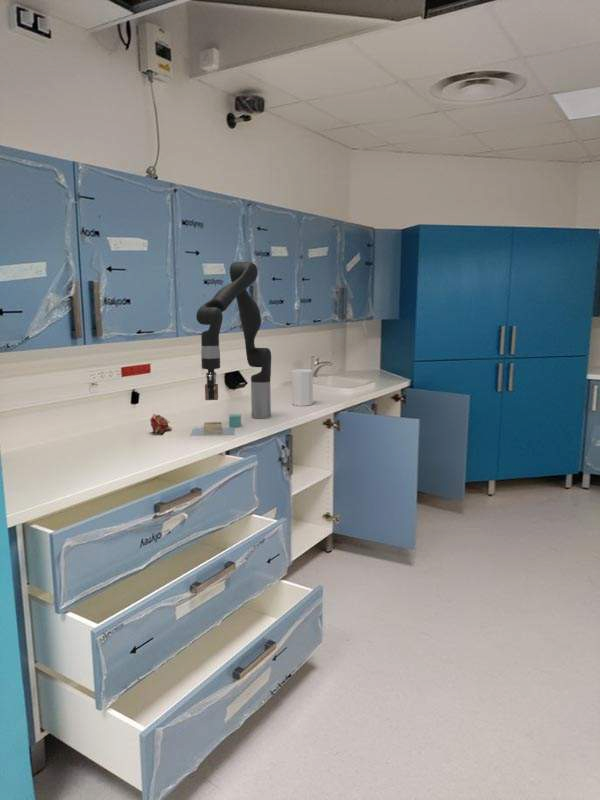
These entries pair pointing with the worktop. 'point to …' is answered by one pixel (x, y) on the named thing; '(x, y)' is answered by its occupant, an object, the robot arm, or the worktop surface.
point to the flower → (159, 424)
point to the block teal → (234, 420)
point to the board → (201, 433)
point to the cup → (302, 387)
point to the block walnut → (214, 392)
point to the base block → (212, 428)
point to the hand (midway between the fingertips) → (211, 397)
